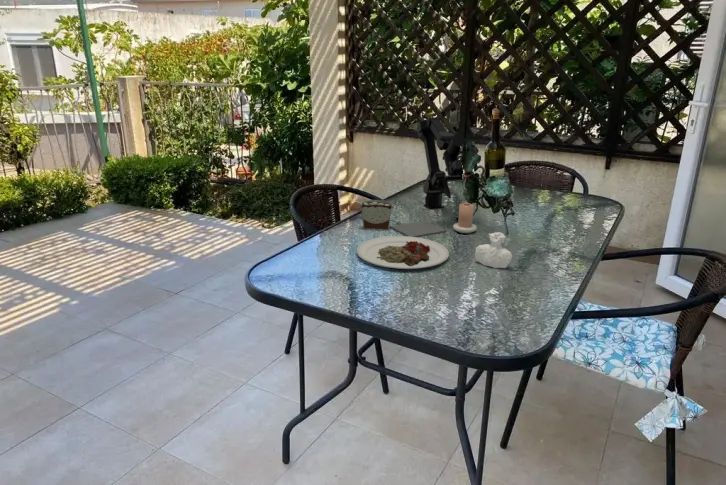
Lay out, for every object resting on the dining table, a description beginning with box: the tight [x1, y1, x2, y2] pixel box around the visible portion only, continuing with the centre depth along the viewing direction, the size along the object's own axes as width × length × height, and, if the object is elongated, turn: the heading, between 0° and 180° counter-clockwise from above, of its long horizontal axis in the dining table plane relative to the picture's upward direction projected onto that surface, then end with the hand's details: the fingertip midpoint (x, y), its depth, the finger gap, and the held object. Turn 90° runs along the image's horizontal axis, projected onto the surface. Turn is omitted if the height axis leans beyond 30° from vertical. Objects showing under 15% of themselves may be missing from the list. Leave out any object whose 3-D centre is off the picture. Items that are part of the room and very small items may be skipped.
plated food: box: [356, 235, 450, 270], centre depth 173 cm, size 30×30×3 cm
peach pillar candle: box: [457, 201, 475, 228], centre depth 196 cm, size 5×5×9 cm
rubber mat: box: [389, 220, 447, 238], centre depth 199 cm, size 16×14×1 cm
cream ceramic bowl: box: [452, 222, 477, 234], centre depth 198 cm, size 8×8×2 cm
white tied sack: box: [474, 231, 513, 269], centre depth 166 cm, size 12×8×11 cm
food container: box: [359, 199, 394, 231], centre depth 200 cm, size 12×6×10 cm, turn 84°
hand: (461, 197), depth 200 cm, fingers open, 9 cm apart
